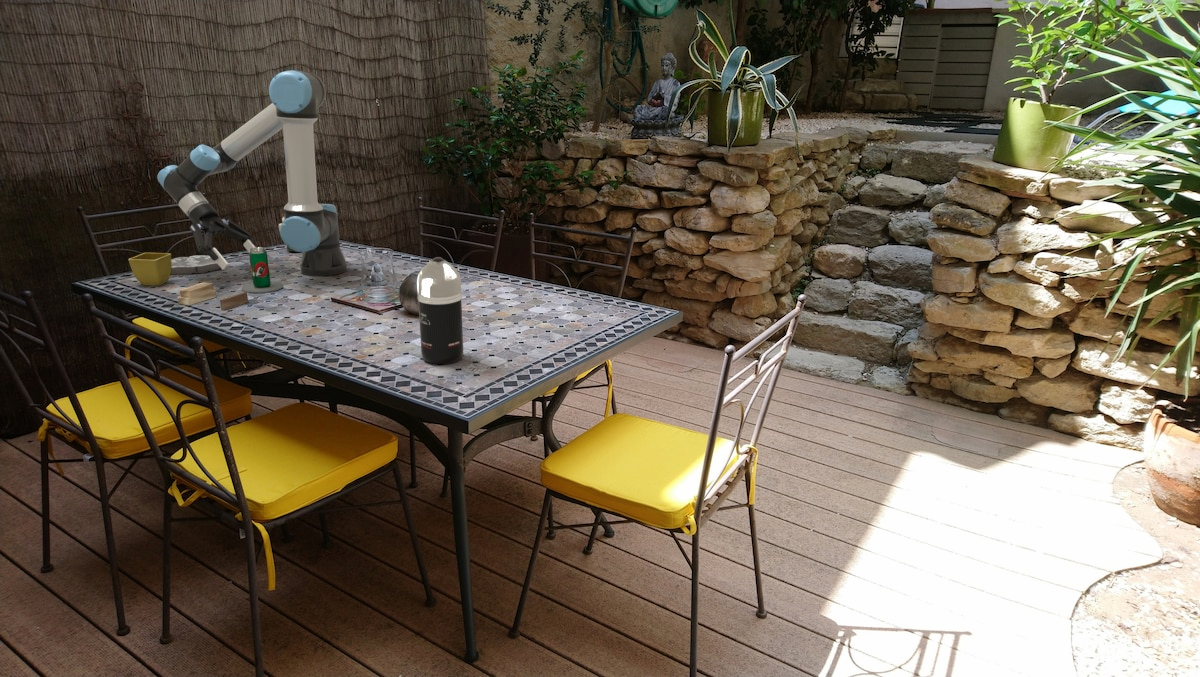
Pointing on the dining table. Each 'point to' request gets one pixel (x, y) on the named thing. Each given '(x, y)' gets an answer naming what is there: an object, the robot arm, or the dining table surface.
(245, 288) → the pad
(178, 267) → the brain slice
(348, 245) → the dining table surface
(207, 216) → the robot arm
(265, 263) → the soda can
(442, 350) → the black and cream bottle
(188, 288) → the set of wooden blocks
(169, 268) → the flower pot
